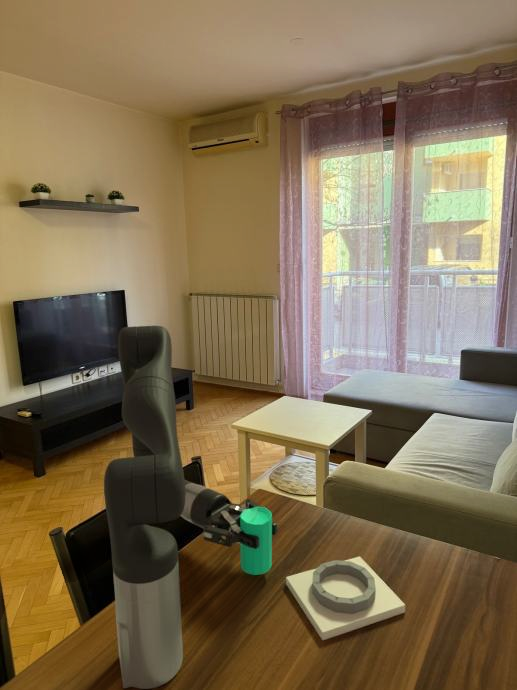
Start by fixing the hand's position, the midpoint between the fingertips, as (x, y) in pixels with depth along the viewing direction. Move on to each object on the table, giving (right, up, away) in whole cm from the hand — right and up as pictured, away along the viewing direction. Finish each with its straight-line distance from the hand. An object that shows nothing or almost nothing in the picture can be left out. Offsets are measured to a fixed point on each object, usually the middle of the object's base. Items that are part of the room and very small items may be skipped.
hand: (267, 536), depth 89 cm
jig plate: (+14, -10, -3) cm, 17 cm away
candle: (-2, -7, +3) cm, 8 cm away
